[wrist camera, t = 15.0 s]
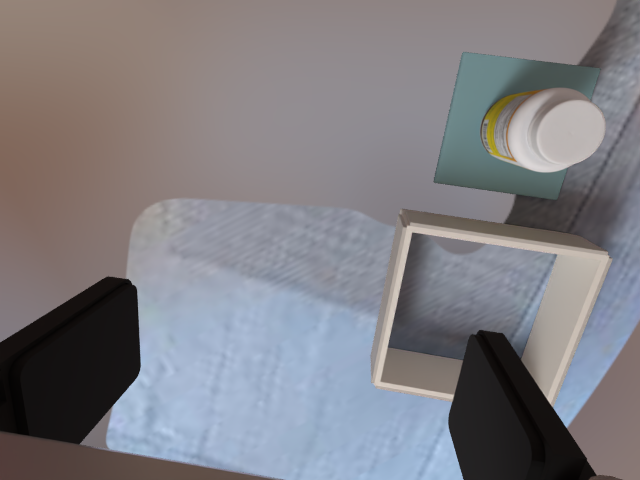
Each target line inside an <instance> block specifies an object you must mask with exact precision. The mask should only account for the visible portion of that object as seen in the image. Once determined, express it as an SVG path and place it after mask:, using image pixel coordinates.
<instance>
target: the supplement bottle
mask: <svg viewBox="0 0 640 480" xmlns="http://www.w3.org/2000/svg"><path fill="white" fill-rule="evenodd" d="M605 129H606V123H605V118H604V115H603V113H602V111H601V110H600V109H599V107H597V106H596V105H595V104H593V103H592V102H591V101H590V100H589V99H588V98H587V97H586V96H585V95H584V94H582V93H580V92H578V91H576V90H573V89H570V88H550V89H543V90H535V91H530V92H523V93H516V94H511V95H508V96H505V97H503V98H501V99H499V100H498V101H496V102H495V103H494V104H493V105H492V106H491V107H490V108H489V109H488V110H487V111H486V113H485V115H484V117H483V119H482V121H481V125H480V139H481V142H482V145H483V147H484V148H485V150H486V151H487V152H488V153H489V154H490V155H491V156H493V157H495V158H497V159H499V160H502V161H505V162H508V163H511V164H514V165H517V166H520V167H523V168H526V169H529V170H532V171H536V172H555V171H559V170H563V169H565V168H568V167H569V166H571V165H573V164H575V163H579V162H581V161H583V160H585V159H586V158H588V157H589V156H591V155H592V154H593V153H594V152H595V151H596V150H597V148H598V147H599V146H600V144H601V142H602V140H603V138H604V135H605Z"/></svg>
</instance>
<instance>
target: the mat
mask: <svg viewBox="0 0 640 480" xmlns="http://www.w3.org/2000/svg"><path fill="white" fill-rule="evenodd" d="M600 70H601V68H593V67H585V66H577V65H568V64H560V63H551V62H542V61H535V60H526V59H518V58H510V57H501V56H493V55H485V54H477V53H468V52H463V53H462V57H461V61H460V65H459V70H458V74H457V79H456V83H455V88H454V92H453V97H452V101H451V105H450V110H449V114H448V119H447V124H446V128H445V132H444V137H443V141H442V146H441V150H440V155H439V159H438V164H437V168H436V173H435V177H434V183H440V184H447V185H454V186H461V187H468V188H476V189H482V190H489V191H496V192H503V193H510V194H517V195H524V196H531V197H538V198H545V199H552V200H557V198H558V195H559V192H560V189H561V186H562V184H563V181H564V178H565V175H566V172H567V169H568V168H565V169H563V170H559V171H555V172H536V171H532V170H529V169H526V168H523V167H520V166H517V165H514V164H511V163H508V162H505V161H502V160H499V159H497V158H495V157H493V156H491V155H490V154H489V153H488V152H487V151H486V150H485V148H484V147H483V145H482V142H481V139H480V125H481V121H482V119H483V117H484V115H485V113H486V111H487V110H488V109H489V108H490V107H491V106H492V105H493V104H494V103H495V102H496V101H498V100H499V99H501V98H503V97H505V96H508V95H511V94H516V93H523V92H530V91H535V90H543V89H550V88H570V89H573V90H576V91H578V92H580V93H582V94H584V95H585V96H586V97H587V98H588V99H589V100H591V97H592V94H593V91H594V88H595V85H596V82H597V79H598V76H599V73H600Z"/></svg>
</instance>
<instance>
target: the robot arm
mask: <svg viewBox="0 0 640 480" xmlns="http://www.w3.org/2000/svg"><path fill="white" fill-rule="evenodd" d="M140 367H141V362H140V341H139V320H138V299H137V288H136V286H134V285H132V283H131V281H130V280H129V279H122V278H115V277H106V278H104V279H102V280H101V281H99V282H97V283H96V284H94V285H92V286H91V287H89V288H88V289H86V290H85V291H83V292H81V293H80V294H78V295H76V296H75V297H73V298H71V299H70V300H68V301H67V302H65V303H63V304H62V305H60V306H59V307H57V308H55V309H54V310H52V311H51V312H49V313H47V314H46V315H44V316H42V317H41V318H39V319H37V320H36V321H34V322H33V323H31V324H30V325H28V326H26V327H25V328H23V329H21V330H20V331H18V332H17V333H15V334H13V335H12V336H10V337H8V338H7V339H5V340H4V341H2V342H0V480H284V479H278V478H272V477H267V476H261V475H255V474H249V473H244V472H238V471H232V470H227V469H221V468H215V467H209V466H204V465H198V464H192V463H186V462H180V461H175V460H169V459H163V458H157V457H151V456H145V455H139V454H133V453H127V452H121V451H115V450H110V449H103V448H98V447H97V448H96V447H91V446H86V445H80V443H81V442H82V441H83V439H84V438H85V437H86V436H87V435H88V434H89V433H90V431H91V430H92V429H93V428H94V427H95V426H96V424H97V423H98V422H99V421H100V420H101V419H102V418H103V416H104V415H105V414H106V413H107V412H108V411H109V409H110V408H111V407H112V406H113V405H114V404H115V403H116V401H117V400H118V399H119V398H120V397H121V396H122V394H123V393H124V392H125V391H126V390H127V389H128V388H129V386H130V385H131V384H132V383H133V382H134V381H135V379H136V378H137V376H138V374H139V372H140ZM448 424H449V430H450V434H451V437H452V441H453V444H454V448H455V451H456V455H457V458H458V462H459V465H460V469H461V472H462V476H463V479H464V480H622V479H618V478H615V477H612V476H604V475H598V476H597V475H596V474H595V472H594V471H593V469H592V468H591V466H590V465H589V463H588V462H587V458H586V457H585V455H584V454H583V452H582V451H581V449H580V448H579V446H578V445H577V443H576V442H575V440H574V439H573V437H572V436H571V434H570V433H569V431H568V430H567V428H566V427H565V425H564V424H563V422H562V421H561V419H560V418H559V416H558V415H557V413H556V412H555V410H554V409H553V407H552V406H551V404H550V403H549V401H548V400H547V398H546V397H545V395H544V394H543V392H542V391H541V389H540V388H539V386H538V385H537V383H536V382H535V380H534V379H533V377H532V376H531V374H530V373H529V371H528V370H527V368H526V367H525V365H524V364H523V362H522V361H521V359H520V358H519V356H518V355H517V353H516V352H515V350H514V349H513V347H512V346H511V344H510V343H509V341H508V340H507V338H506V337H505V335H504V334H503V333H497V332H490V331H483V330H479V331H478V332H477V334H476V335H474V334H472V335H471V336H470V337H469V340H468V344H467V348H466V352H465V355H464V359H463V363H462V367H461V371H460V375H459V378H458V382H457V386H456V390H455V394H454V398H453V401H452V405H451V409H450V413H449V420H448Z"/></svg>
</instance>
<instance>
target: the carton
mask: <svg viewBox="0 0 640 480" xmlns="http://www.w3.org/2000/svg"><path fill="white" fill-rule="evenodd" d="M412 232H414V233H421V234H427V235H434V236H440V237H448V238H454V239H460V240H467V241H473V242H480V243H487V244H493V245H500V246H506V247H513V248H520V249H526V250H533V251H539V252H546V253H553V254H558V255H557V258H556V261H555V264H554V267H553V270H552V272H551V275H550V278H549V281H548V284H547V287H546V290H545V292H544V295H543V298H542V301H541V304H540V307H539V310H538V312H537V315H536V318H535V321H534V324H533V327H532V329H531V332H530V335H529V338H528V341H527V344H526V347H525V349H524V352H523V355H522V358H521V361H522V362H523V364H524V365H525V367H526V368H527V370H528V371H529V373H530V374H531V376H532V377H533V379H534V380H535V382H536V383H537V385H538V386H539V388H540V389H541V391H542V392H543V394H544V395H545V397H546V398H547V400H548V401H549V403H550V404H551V406H552V407H553V406H554V404H555V401H556V399H557V396H558V394H559V391H560V389H561V386H562V384H563V381H564V379H565V376H566V374H567V371H568V369H569V366H570V364H571V361H572V359H573V356H574V354H575V351H576V349H577V346H578V344H579V341H580V339H581V336H582V334H583V331H584V329H585V327H586V324H587V322H588V319H589V317H590V314H591V312H592V309H593V307H594V304H595V302H596V299H597V297H598V294H599V292H600V289H601V287H602V284H603V282H604V279H605V277H606V274H607V272H608V269H609V267H610V264H611V262H612V258H610V257H609V255H608V251H606V250H604V249H602V248H600V247H599V246H597V245H595V244H593V243H591V242H590V241H588V240H586V239H584V238H582V237H581V236H579V235H572V234H569V233H562V232H556V231H549V230H542V229H535V228H528V227H522V226H515V225H508V224H501V223H495V222H487V221H481V220H474V219H467V218H461V217H454V216H447V215H440V214H434V213H426V212H419V211H413V210H406V209H401V210H400V214H399V215H398V220H397V225H396V230H395V235H394V240H393V245H392V250H391V255H390V260H389V265H388V270H387V275H386V280H385V285H384V290H383V295H382V300H381V305H380V310H379V315H378V320H377V325H376V331H375V336H374V341H373V346H372V351H371V383H374V385H376V388H378V389H383V390H389V391H395V392H400V393H406V394H411V395H417V396H423V397H428V398H434V399H439V400H445V401H450V402H452V401H453V398H454V394H455V390H456V386H457V382H458V378H459V375H460V371H461V367H462V363H463V360H458V359H453V358H447V357H441V356H435V355H429V354H424V353H418V352H412V351H406V350H400V349H394V348H389V347H388V343H389V338H390V334H391V329H392V324H393V320H394V315H395V310H396V306H397V301H398V296H399V292H400V287H401V282H402V278H403V273H404V268H405V264H406V259H407V254H408V250H409V245H410V240H411V236H412Z"/></svg>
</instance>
